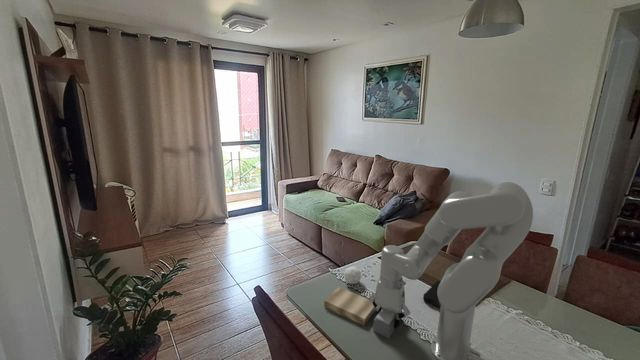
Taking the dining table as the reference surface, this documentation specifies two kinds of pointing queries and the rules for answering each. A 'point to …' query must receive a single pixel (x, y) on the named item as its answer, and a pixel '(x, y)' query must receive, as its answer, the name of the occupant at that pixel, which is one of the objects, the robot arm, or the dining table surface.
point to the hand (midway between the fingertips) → (387, 322)
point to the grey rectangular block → (384, 323)
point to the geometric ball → (352, 275)
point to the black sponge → (432, 295)
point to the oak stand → (350, 305)
